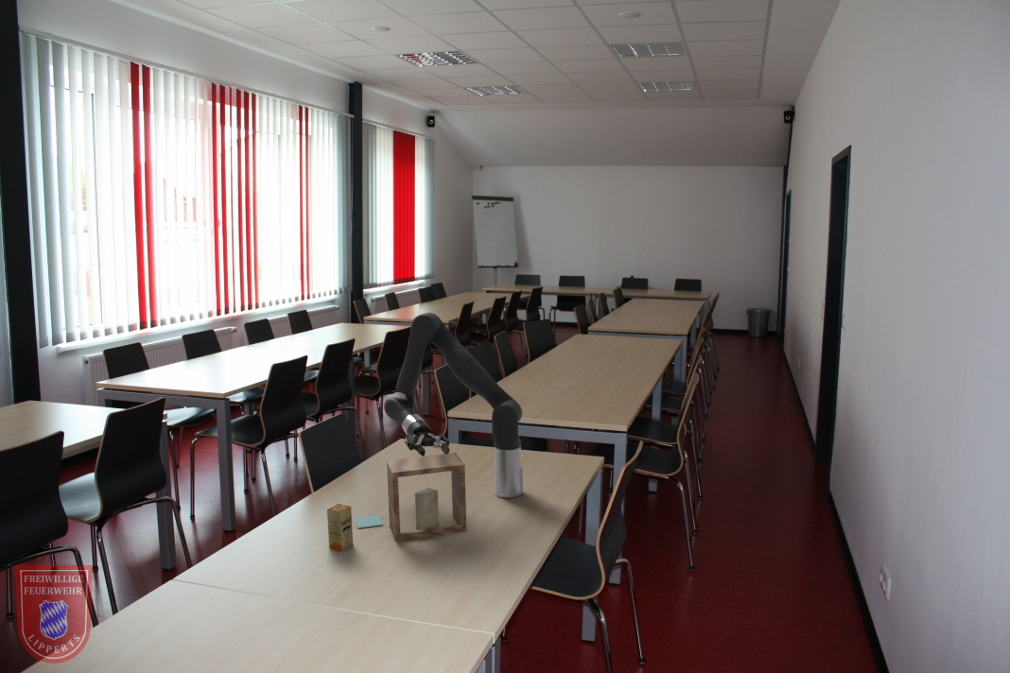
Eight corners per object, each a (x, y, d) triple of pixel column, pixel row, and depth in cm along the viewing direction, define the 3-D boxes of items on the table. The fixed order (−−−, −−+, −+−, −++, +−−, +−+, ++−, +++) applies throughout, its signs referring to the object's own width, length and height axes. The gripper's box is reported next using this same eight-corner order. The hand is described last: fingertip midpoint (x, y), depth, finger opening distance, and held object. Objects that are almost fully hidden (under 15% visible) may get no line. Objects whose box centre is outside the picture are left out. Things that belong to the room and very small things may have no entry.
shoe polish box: (329, 547, 215) (327, 509, 214) (340, 541, 220) (338, 503, 218) (342, 551, 213) (340, 512, 211) (353, 544, 217) (351, 506, 216)
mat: (379, 516, 238) (379, 514, 238) (383, 525, 231) (383, 524, 231) (355, 519, 236) (355, 518, 236) (357, 528, 229) (357, 527, 228)
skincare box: (425, 533, 224) (424, 496, 222) (415, 530, 227) (414, 493, 225) (439, 526, 229) (438, 490, 227) (429, 523, 232) (428, 487, 230)
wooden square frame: (457, 516, 237) (455, 452, 234) (466, 531, 226) (464, 464, 222) (389, 525, 230) (386, 460, 227) (395, 541, 219) (392, 472, 216)
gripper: (399, 420, 243) (418, 443, 230) (437, 418, 250) (457, 441, 237) (395, 439, 245) (413, 464, 232) (433, 438, 252) (453, 461, 240)
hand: (436, 453), depth 235 cm, fingers open, 8 cm apart
